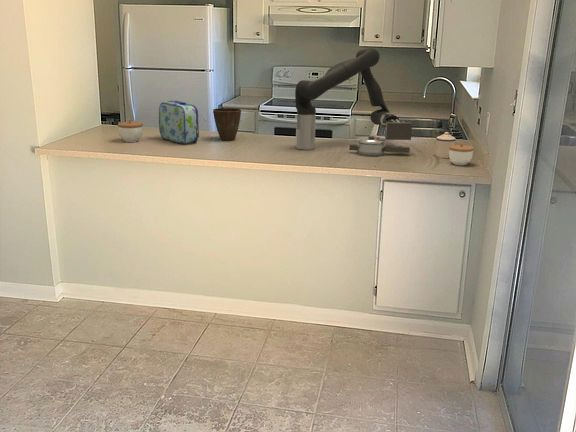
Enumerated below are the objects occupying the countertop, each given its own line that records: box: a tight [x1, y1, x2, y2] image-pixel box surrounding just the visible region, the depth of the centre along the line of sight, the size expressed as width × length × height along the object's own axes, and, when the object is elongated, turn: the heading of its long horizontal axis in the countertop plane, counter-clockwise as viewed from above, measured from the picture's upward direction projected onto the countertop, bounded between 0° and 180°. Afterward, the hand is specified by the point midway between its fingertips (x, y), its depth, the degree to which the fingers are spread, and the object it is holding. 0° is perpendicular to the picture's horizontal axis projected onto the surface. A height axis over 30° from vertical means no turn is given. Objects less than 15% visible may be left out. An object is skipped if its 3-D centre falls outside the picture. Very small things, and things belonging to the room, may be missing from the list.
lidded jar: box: [448, 142, 474, 166], centre depth 267 cm, size 11×11×9 cm
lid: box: [356, 121, 413, 144], centre depth 284 cm, size 26×14×9 cm, turn 93°
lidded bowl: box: [117, 119, 144, 143], centre depth 307 cm, size 13×13×11 cm
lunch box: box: [158, 100, 200, 145], centre depth 307 cm, size 26×11×21 cm, turn 42°
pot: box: [348, 141, 411, 157], centre depth 286 cm, size 28×13×6 cm, turn 96°
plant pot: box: [212, 107, 242, 142], centre depth 314 cm, size 15×15×16 cm
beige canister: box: [434, 131, 457, 159], centre depth 283 cm, size 12×9×12 cm
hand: (400, 126), depth 285 cm, fingers closed
